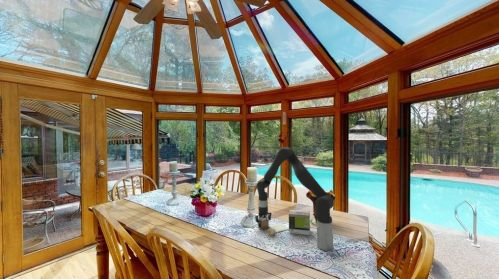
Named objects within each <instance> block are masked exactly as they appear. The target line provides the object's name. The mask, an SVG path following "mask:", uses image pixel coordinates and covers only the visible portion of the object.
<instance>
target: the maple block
mask: <svg viewBox="0 0 499 279" xmlns="http://www.w3.org/2000/svg"><path fill="white" fill-rule="evenodd" d="M266 230H267V232H266V233H267V234H266V235H267V236H269V237H274V236H276V232H275V229H272V228H269V229H266Z"/></svg>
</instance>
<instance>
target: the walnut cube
mask: <svg viewBox="0 0 499 279" xmlns="http://www.w3.org/2000/svg"><path fill="white" fill-rule="evenodd" d="M269 221H270V220H269ZM269 221H268V220H266V219H265V218H264V219H262V221H261V228H259V227H258V226H257V228H258V229H260V230H261V231H265V230H268V229H270V228H269V226H270V222H269Z"/></svg>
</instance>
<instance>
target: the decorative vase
mask: <svg viewBox="0 0 499 279" xmlns="http://www.w3.org/2000/svg"><path fill="white" fill-rule="evenodd" d="M326 192H327V193H328V194H329V196H330V197H331V198H332V199H333V201H335V200H336V195H335V193H334V190H333V189H329V191H326ZM305 197H306V198H308V199H309V200H310V201H311V202H312V209H313V210H312V211H313V214H312V216H313V217H312V218H310V225H313V226H316V227H317V217H316V200H317V199H318V198H317V197H316V196H315V194H314V193H313V192H311V191H310V190H309V189H308V192H306V193H305Z"/></svg>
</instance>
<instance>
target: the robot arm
mask: <svg viewBox="0 0 499 279" xmlns="http://www.w3.org/2000/svg"><path fill="white" fill-rule="evenodd" d="M285 161H287V162H288V163H289V164H290V165H291V167H292V169H293V173H294V175H295V177H296V179H297V180H298V182H300V184H301V185H302V186H303V187H304V188H306V189H307V190H308V191H309V190H310V191H311V192H313V193H314V194H315V196H316V197H317V198H318V199H317V200H316V217H317V226H316V246H317V249H319V250H322V251H325V252H328V251H331V250H334V234H333V217H332V216H331V209H332V208H333V207H334V205H335V202H334V201H335V200H334V201H333V199H332V198H331V197H330V196H329V194H328V193H327V192H328V191H325V190H326V189H324V188H323V187H322V186H321V185H320V183H319V182H318V181H317V180H316V178H315V177H314V176H313V175H312V174H311V173H310V171H309V170H308V169H307V168H306V166H305V165H304V164H303V162H302V161H301V160H300V159H299V158H298V156H297V154H296V153H295V152H294V150H293V149H292V148H291V147H281V148H280V149H279V150H277V153H276V155H275V157H274V159H273V160H272V163H271V164H270V166H269V168H268V169H267V170H266V172H265V173H264V175H263V179H261V180H258V181H257V183H256V189H257V190H256V191H257V194H258V201H257V202H258V204H257V206H258V208H257V210H258V213H257V214H254V217H255V218H254V219H255V222H256V223H257V228H258V227H259V228H258V229H260V228H261V221H262V219H264V218H265V219H266V220H268V221H271V220H272V212H271V211H269V200H268V192H267V191H266V190H265V189H267V188H269V186H270V185H271V183H272V180H274V178H275V177H276V175H277V173H278V171H279V168H280V166H281V165H282V164H283V163H284V162H285Z"/></svg>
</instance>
